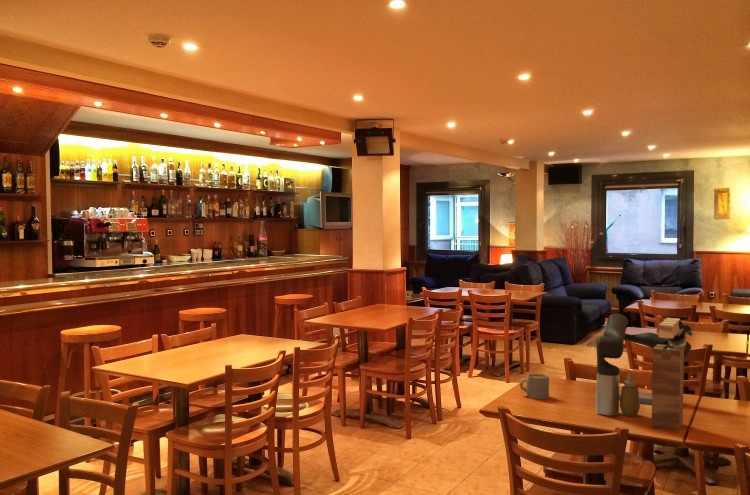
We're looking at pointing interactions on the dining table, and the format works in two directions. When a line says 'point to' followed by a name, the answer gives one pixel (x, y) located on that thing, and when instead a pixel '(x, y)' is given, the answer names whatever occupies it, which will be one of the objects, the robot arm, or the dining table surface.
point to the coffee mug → (536, 386)
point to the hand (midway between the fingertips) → (672, 322)
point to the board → (642, 397)
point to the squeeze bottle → (629, 398)
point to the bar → (669, 328)
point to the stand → (667, 387)
